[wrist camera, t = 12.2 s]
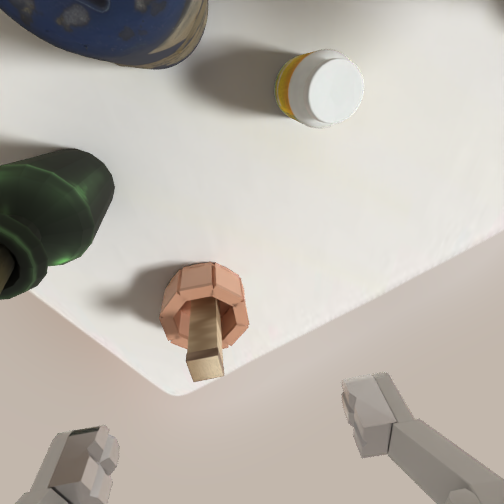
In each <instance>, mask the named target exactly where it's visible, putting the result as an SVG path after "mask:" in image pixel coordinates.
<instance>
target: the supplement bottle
mask: <svg viewBox="0 0 504 504" xmlns="http://www.w3.org/2000/svg"><path fill="white" fill-rule="evenodd" d="M363 93H364V80H363V76H362V73H361V71H360V69H359V68H358V67H357V65H355V64H354V63H353V62H352V61H350V60H349V59H348V58H347V57H346V56H345V55H344V54H342V53H341V52H339V51H336V50H330V49H324V50H318V51H315V52H311V53H307V54H303V55H299V56H296V57H294V58H292V59H290V60H289V61H288V62H286V63H285V64H284V66H283V67H282V68H281V69H280V71H279V73H278V75H277V77H276V80H275V85H274V95H275V100H276V102H277V104H278V106H279V108H280V109H281V111H282V112H283V113H284V114H286V115H287V116H289V117H290V118H292V119H294V120H296V121H298V122H300V123H302V124H304V125H306V126H309V127H313V128H326V127H329V126H332V125H334V124H336V123H340V122H342V121H345V120H346V119H348V118H349V117H350V116H352V115H353V113H354V112H355V111H356V110H357V108H358V107H359V105H360V103H361V100H362V97H363Z"/></svg>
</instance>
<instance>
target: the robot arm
mask: <svg viewBox="0 0 504 504" xmlns="http://www.w3.org/2000/svg"><path fill="white" fill-rule="evenodd" d="M342 388H343V391H344V392H343V393H342V403H343V408H344V411H345V415H346V418H347V420H348V423H349V424H350V425H352V426H353V427H354V436H353V437H354V439H355V442H356V445H357V447H358V450H359V452H360V455H361V457H362V458H366V457H372V456H379V455H385V454H388V456H389V457H390V458H391V459H392V460H393V461H394V462H395V463H396V464H397V465H398V466H399V467H400V468H401V469H402V470H403V471H404V472H405V473H406V474H407V475H408V476H409V477H410V478H411V479H412V480H413V481H415V483H416V484H417V485H418V486H419V487H420V488H421V489H422V490H423V491H424V492H425V493H426V494H427V495H428V496H429V497H430V498H431V499H433V500H434V501H435V502H436V503H437V504H504V479H503V478H501V477H500V476H498V475H497V474H496V473H494V472H493V471H491V470H490V469H489V468H487V467H486V466H485V465H483V464H482V463H480V462H479V461H478V460H476V459H475V458H473V457H472V456H471V455H469V454H468V453H467V452H465V451H464V450H462V449H461V448H459V447H458V446H457V445H455V444H454V443H453V442H451V441H450V440H449V439H447V438H446V437H444V436H443V435H442V434H440V433H439V432H437V431H436V430H435V429H433V428H432V427H430V426H429V425H428V424H426V423H425V422H424V421H422V420H421V419H415V418H414V417H413V415H412V413H411V411H410V410H409V408H408V406H407V404H406V403H405V401H404V399H403V397H402V396H401V394H400V392H399V390H398V389H397V387H396V385H395V383H394V382H393V380H392V379H391V376H390V375H389V374H388V373H387V372H380V373H375V374H369V375H364V376H359V377H354V378H349V379H345V380H342ZM108 433H109V429H108V428H107V426H106V425H102V426H97V427H91V428H85V429H80V430H73V431H68V432H63V433H58V434H57V435H56V436H55V438H54V439H53V441H52V443H51V445H50V447H49V449H48V452H47V454H46V456H45V458H44V461H43V463H42V465H41V467H40V470H39V472H38V474H37V476H36V479H35V481H34V483H33V485H32V487H31V489H30V492H27V493H24V495H22V497H21V498H20V499H19V500H18V501H17V502H16V503H15V504H107V502H108V499H109V495H110V491H111V487H112V483H113V482H112V479H111V476H110V474H111V473H112V472H113V471H114V469H115V468H116V467H117V462H118V459H119V444H118V441H117V439H116V438H115V437H114V436H111V435H109V434H108Z"/></svg>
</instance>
